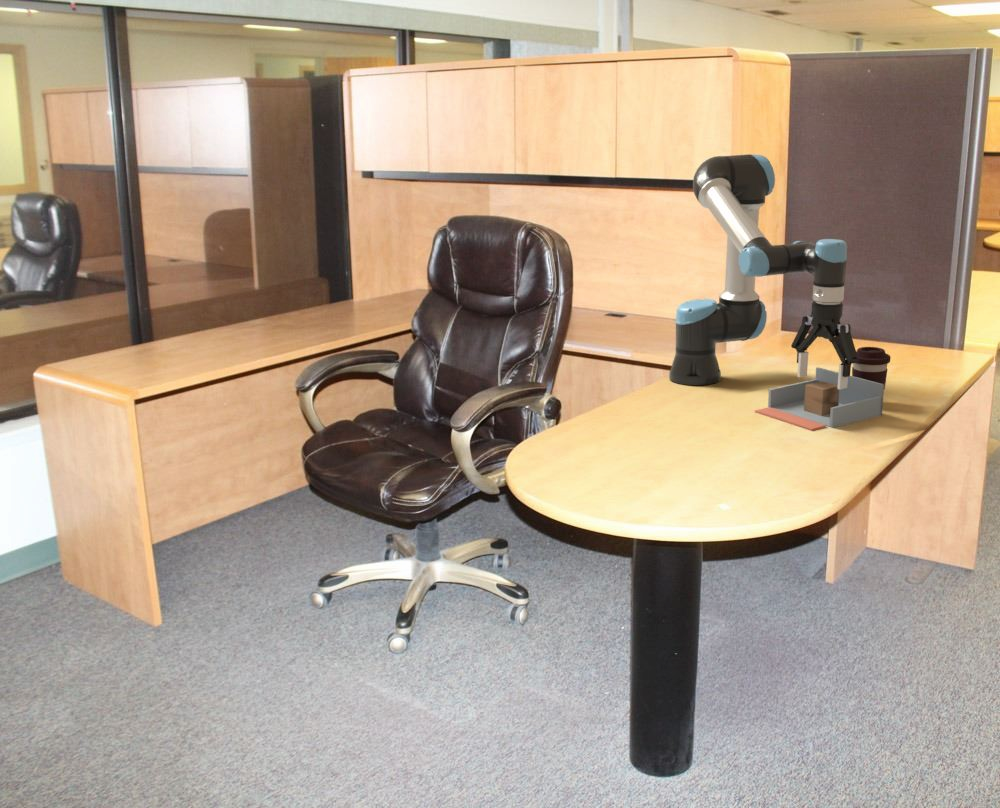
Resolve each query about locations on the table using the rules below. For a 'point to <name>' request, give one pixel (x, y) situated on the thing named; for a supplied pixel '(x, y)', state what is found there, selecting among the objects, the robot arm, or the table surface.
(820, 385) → the walnut block
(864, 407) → the truck bed
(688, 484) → the table surface
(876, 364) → the coffee cup
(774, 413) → the panel
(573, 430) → the table surface
